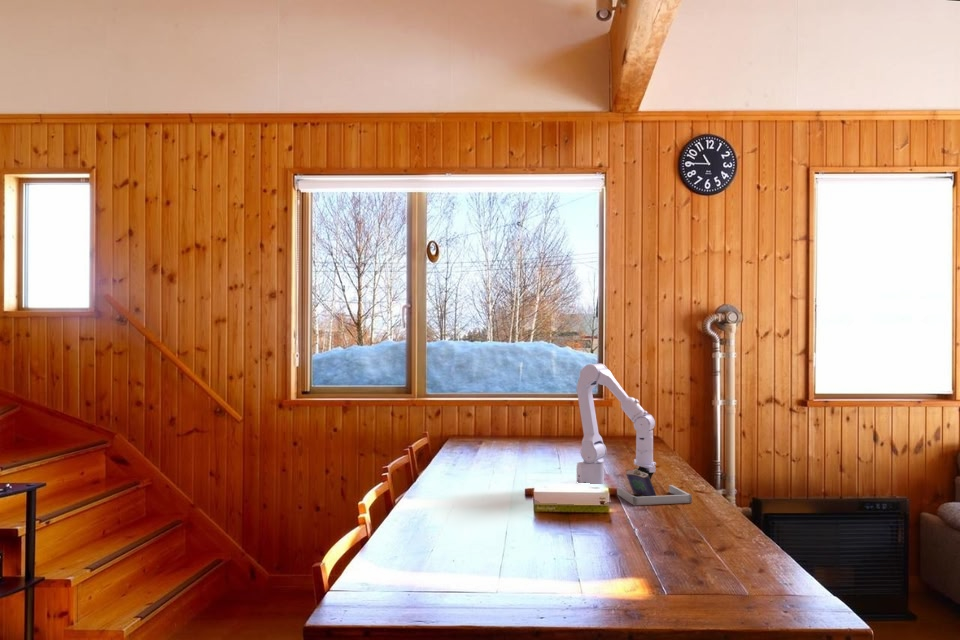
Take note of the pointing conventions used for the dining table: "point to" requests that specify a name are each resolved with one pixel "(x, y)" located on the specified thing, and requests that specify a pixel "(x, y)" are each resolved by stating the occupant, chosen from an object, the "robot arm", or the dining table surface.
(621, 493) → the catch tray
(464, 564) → the dining table surface
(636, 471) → the flask
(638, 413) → the robot arm
